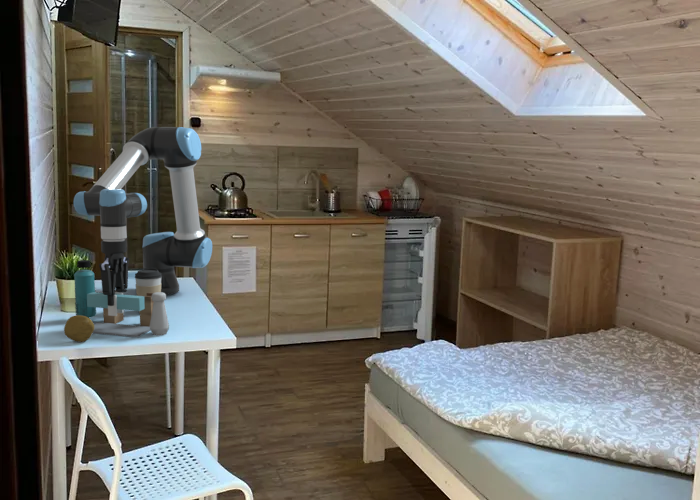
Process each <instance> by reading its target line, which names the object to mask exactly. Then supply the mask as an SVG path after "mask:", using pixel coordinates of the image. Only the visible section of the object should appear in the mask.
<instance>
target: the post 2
mask: <svg viewBox="0 0 700 500" xmlns="http://www.w3.org/2000/svg"><path fill="white" fill-rule="evenodd" d="M152 294H153V293H147V296H144V305H145V309H143V310H141V311H140V313H139V326H147V327H150V322H151V316H152V310H153V304H154V301H152Z"/></svg>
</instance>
